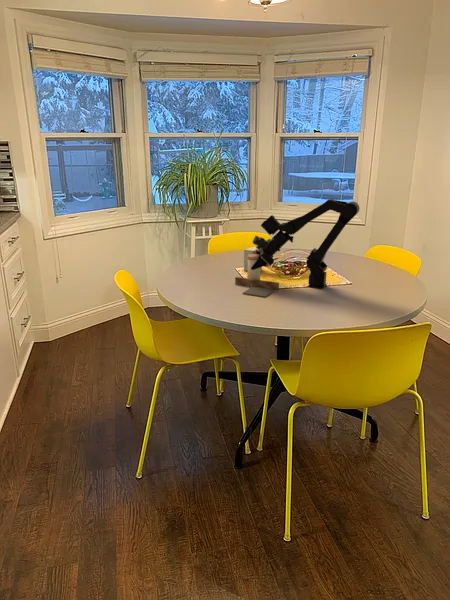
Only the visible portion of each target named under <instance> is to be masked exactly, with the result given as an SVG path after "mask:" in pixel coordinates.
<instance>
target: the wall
mask: <svg viewBox="0 0 450 600" xmlns="http://www.w3.org/2000/svg"><path fill="white" fill-rule="evenodd" d="M234 285H239V286H247V287H260V288H266V289H273V290H274V291H279V290H280V282H276V281H269V280H264V279H263V280H262V279H260V280H256V279H249V278H248V277H241V276H235V278H234Z"/></svg>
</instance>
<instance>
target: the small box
mask: <svg viewBox="0 0 450 600" xmlns="http://www.w3.org/2000/svg"><path fill="white" fill-rule="evenodd" d="M256 249H257V248H256V246H252V247H249V248H245V249H243V271H244V272H248V258H247V255H249V254H256ZM257 250H258V249H257ZM262 269H263V267H260V270H262Z"/></svg>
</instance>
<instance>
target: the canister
mask: <svg viewBox="0 0 450 600" xmlns="http://www.w3.org/2000/svg"><path fill="white" fill-rule="evenodd" d="M247 258H248V271H247V278H249V279H256V280H261V269H260V268H257V269H254V270H252V269H251V267H252V266H253V265H254V263H255V262H256V261H257V259H258V254H249V255H247Z"/></svg>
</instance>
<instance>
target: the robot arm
mask: <svg viewBox="0 0 450 600" xmlns="http://www.w3.org/2000/svg"><path fill="white" fill-rule="evenodd" d="M328 211H332V212H336V213H339V215H338V218H337V221H336V223H334V226H333V227H332V228H331V230H329V233H328V234H327V235H326V237H325V238H324V240H323V241H322V243H321V244H320V245H319V247H318V248H316V247H314V248H313V249H312V250H311V251H310V253H309V255H308V256H307V257H306V258H305V259H306V262H305V264H306V267H307V268H308V269H309V273H310V274H309V275H308V287H310V288H314V289H315V288H316V289H321V290H322V289H324V288H326V286H327V273H328V272H327V269H328V265H327V263H325V262H324V260H325V258H326V257H327V256H326V255H327V252H328V251H329V250H330V248H331V247H332V245H333V244H334V242H335V241H336V240H337V238H338V237H339V235H340V233H342V231H343V230H344V228H345V227H346V225H347V224H349V223H350V222H351V220H352V219H354V217H355V216H357V215H358V214H359V212H360V205H359V204H358V202H357V201H349V202H347V201H343V200H342V201H341V200H337V199H334V198H329V199H327V200H325V202H324V203H322V204H320V205H318V206H317V207H316V208H313V209H311V210H310V211H308V212H307V213H305V214H303V215H301V216H299V217H295V218H292V219H291V220H288V221H286V222H282V223H280V221H278V220H277V218H276V217H275V216H274V215H273V214H272V215H270V216H269V217H268V218H266V220H264V221H263V222H262V223H261V225H260V227H261V228H262V229H263V230H264V231H265V232H266V233H267V234H268V235H269V236H271V235H272V236H273V237H272V238H268V239H267V240H266V239H265V238H264V237H262V236H259V235H255V236H254V238H253V240H252V244H253V245H255V247H256V248H257V249H258V250H257V249H256V254H258V259H257V261H256V262H255V263H254V265H253V266H252V267H251V269H252V270H254V269H257V268H260V267H262V268H264V267H266V266H272V265H273V264H274V263H275V259H274V255H275V254H276V253H278V252H280V251H281V248H282V247H284V245H285V244H287V242H288V241H290V242H291V243H293V242H294V236H293V235H295V234H296V233H298V232H299V231H300V230H302V229H303V228H304V227H305V226H306V225H307V224H308V223H310V222H311V221H313V220H315V219H317V218H318V217H320V216H322V215H324V214H325V213H326V212H328Z"/></svg>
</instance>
